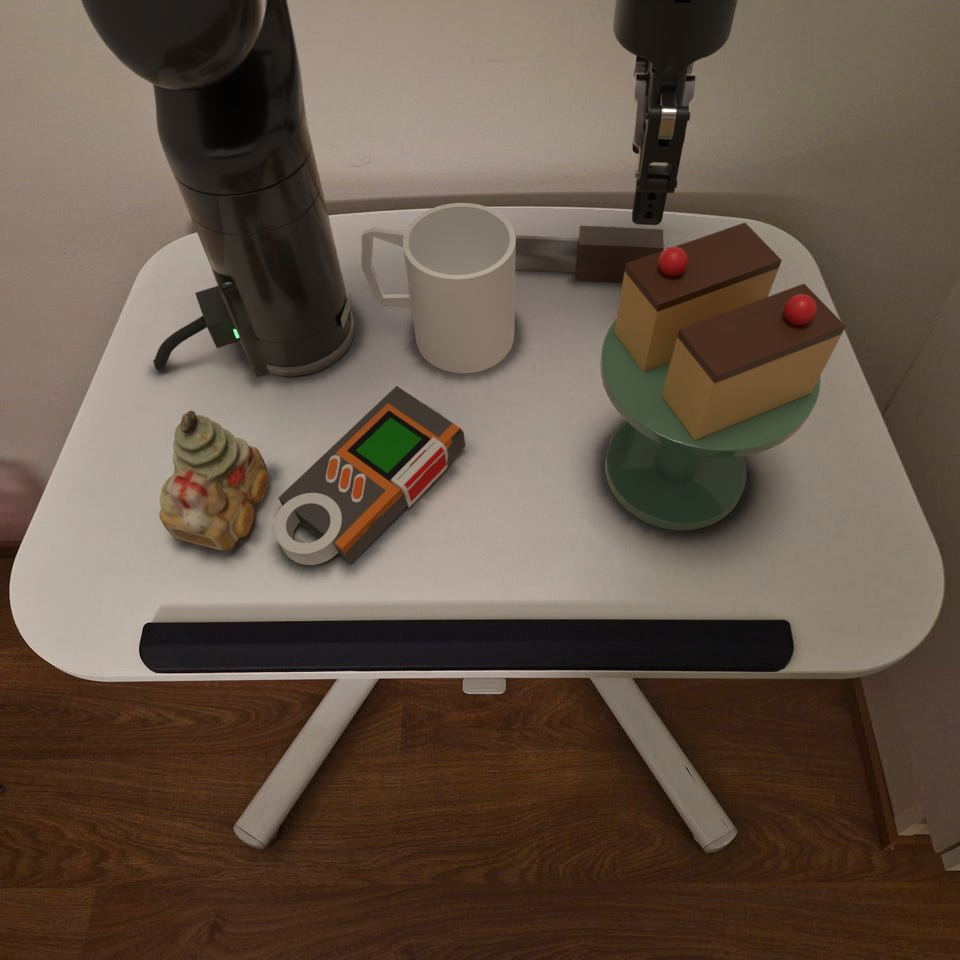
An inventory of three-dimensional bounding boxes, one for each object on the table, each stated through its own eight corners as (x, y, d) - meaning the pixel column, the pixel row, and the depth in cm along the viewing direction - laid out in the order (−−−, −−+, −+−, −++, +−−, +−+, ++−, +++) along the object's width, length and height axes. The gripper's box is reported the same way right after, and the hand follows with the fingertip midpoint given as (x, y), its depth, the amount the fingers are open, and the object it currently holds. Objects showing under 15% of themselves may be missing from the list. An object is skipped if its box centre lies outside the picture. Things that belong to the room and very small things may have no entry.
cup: (386, 289, 68) (369, 192, 60) (521, 306, 67) (524, 208, 58) (360, 360, 64) (338, 265, 56) (504, 379, 63) (504, 285, 54)
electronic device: (250, 519, 53) (399, 379, 59) (263, 538, 56) (404, 402, 61) (319, 576, 51) (467, 424, 56) (329, 593, 53) (470, 446, 59)
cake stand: (641, 578, 53) (674, 482, 43) (553, 436, 59) (563, 325, 49) (801, 508, 55) (867, 402, 45) (700, 380, 62) (738, 262, 52)
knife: (655, 265, 69) (663, 229, 66) (656, 284, 68) (664, 248, 64) (486, 257, 70) (485, 220, 67) (484, 275, 69) (482, 239, 66)
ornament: (248, 562, 54) (201, 484, 46) (163, 552, 55) (102, 474, 46) (279, 467, 59) (242, 380, 50) (201, 458, 59) (150, 372, 51)
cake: (694, 441, 44) (723, 357, 38) (613, 332, 49) (628, 243, 43) (811, 393, 46) (856, 306, 40) (722, 292, 50) (751, 201, 45)
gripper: (621, -97, 51) (599, 129, 65) (618, 16, 44) (594, 245, 57) (738, -97, 51) (691, 132, 64) (756, 18, 43) (698, 250, 57)
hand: (645, 185), depth 61 cm, fingers open, 8 cm apart
